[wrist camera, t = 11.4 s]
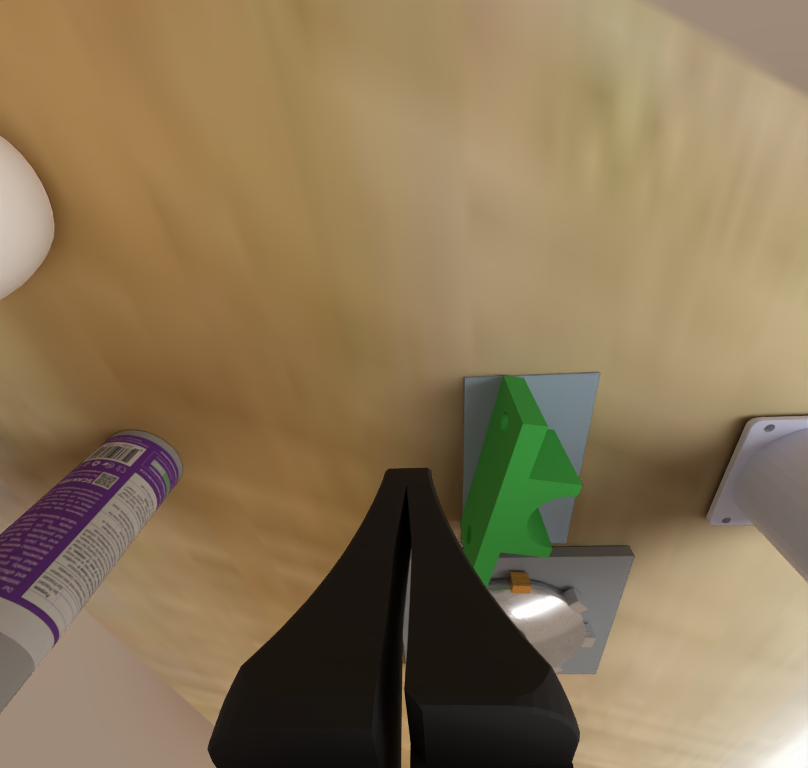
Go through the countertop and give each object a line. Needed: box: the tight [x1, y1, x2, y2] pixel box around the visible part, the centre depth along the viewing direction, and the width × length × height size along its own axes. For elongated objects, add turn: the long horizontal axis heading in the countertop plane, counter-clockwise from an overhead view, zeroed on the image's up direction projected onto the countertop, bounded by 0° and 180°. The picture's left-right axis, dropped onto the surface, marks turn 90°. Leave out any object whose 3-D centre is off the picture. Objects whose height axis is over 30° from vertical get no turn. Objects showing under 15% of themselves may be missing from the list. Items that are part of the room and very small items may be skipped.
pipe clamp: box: [460, 375, 583, 587], centre depth 22 cm, size 11×4×5 cm, turn 172°
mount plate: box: [403, 546, 635, 674], centre depth 31 cm, size 16×15×1 cm
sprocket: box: [486, 572, 596, 673], centre depth 28 cm, size 12×12×4 cm
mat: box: [462, 372, 600, 545], centre depth 24 cm, size 7×13×1 cm, turn 3°
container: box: [0, 430, 183, 714], centre depth 18 cm, size 5×5×15 cm
